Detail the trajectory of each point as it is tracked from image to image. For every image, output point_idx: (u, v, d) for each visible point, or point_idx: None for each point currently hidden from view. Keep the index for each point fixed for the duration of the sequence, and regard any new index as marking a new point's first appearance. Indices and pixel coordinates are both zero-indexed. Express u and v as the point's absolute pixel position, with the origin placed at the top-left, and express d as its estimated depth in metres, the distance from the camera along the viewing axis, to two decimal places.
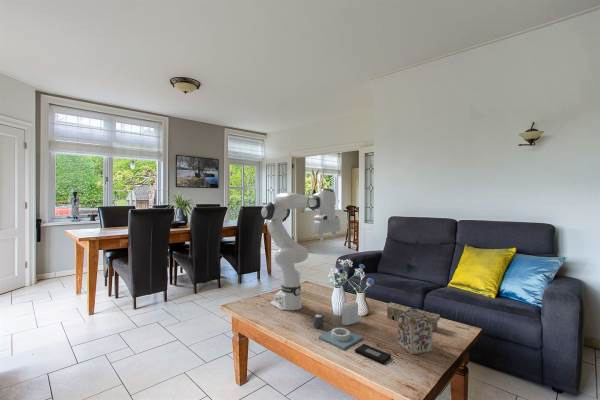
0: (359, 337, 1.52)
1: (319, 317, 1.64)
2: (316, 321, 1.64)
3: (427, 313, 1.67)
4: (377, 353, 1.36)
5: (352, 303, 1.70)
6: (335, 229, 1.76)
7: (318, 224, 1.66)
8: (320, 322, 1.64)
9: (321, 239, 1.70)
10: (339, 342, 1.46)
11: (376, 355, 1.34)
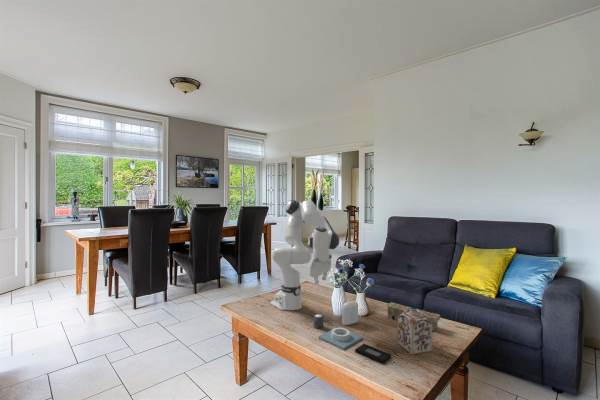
0: (359, 337, 1.52)
1: (319, 317, 1.64)
2: (316, 321, 1.64)
3: (427, 313, 1.67)
4: (377, 353, 1.36)
5: (352, 303, 1.70)
6: None
7: None
8: (320, 322, 1.64)
9: None
10: (339, 342, 1.46)
11: (376, 355, 1.34)
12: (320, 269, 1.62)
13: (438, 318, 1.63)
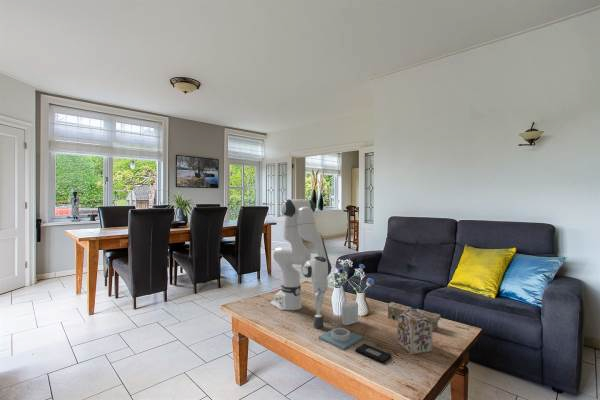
0: (359, 337, 1.52)
1: (319, 317, 1.64)
2: (316, 321, 1.64)
3: (427, 313, 1.68)
4: (377, 353, 1.36)
5: (352, 303, 1.70)
6: None
7: None
8: (320, 322, 1.64)
9: None
10: (339, 342, 1.46)
11: (376, 355, 1.34)
12: None
13: (438, 318, 1.63)
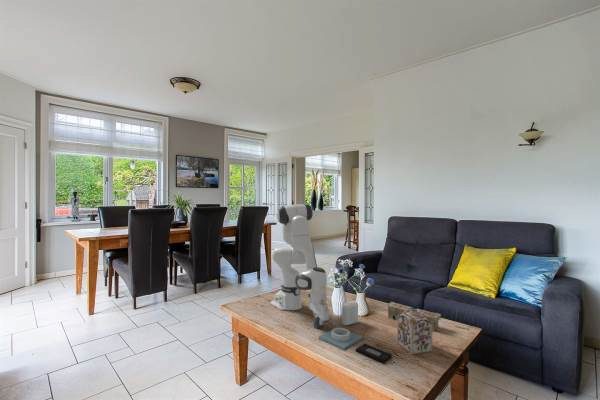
0: (359, 337, 1.52)
1: (319, 317, 1.64)
2: (316, 321, 1.64)
3: (428, 312, 1.68)
4: (378, 353, 1.36)
5: (352, 303, 1.70)
6: (319, 315, 1.60)
7: None
8: None
9: None
10: (339, 342, 1.46)
11: (377, 354, 1.34)
12: None
13: (439, 317, 1.64)
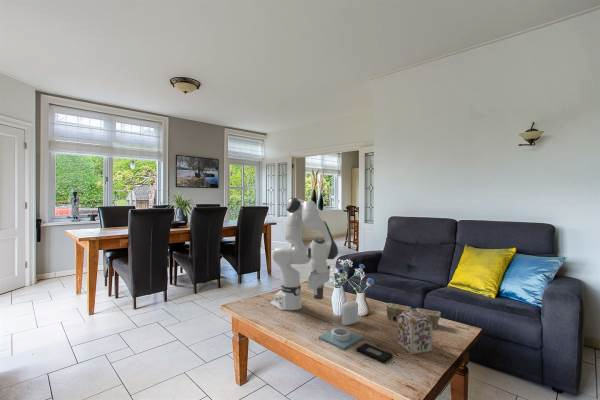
0: (359, 337, 1.52)
1: None
2: None
3: (428, 311, 1.71)
4: (378, 352, 1.36)
5: (352, 303, 1.70)
6: None
7: None
8: None
9: None
10: (339, 342, 1.46)
11: (377, 354, 1.35)
12: (318, 281, 1.61)
13: (440, 315, 1.67)
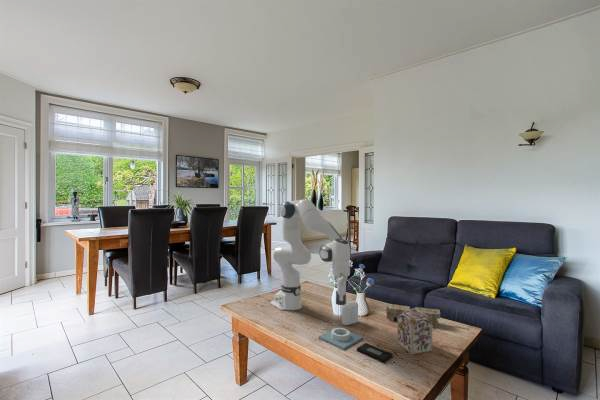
0: (359, 337, 1.52)
1: None
2: (337, 296, 1.51)
3: (428, 310, 1.72)
4: (379, 352, 1.37)
5: (352, 303, 1.70)
6: None
7: None
8: None
9: None
10: (339, 342, 1.46)
11: (378, 354, 1.35)
12: None
13: None
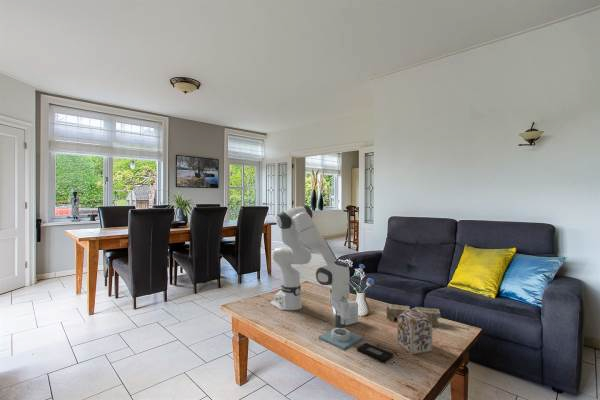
0: (359, 337, 1.52)
1: None
2: (337, 319, 1.50)
3: (428, 309, 1.73)
4: (379, 352, 1.37)
5: (352, 303, 1.70)
6: (339, 313, 1.47)
7: None
8: None
9: None
10: (339, 342, 1.46)
11: (378, 354, 1.35)
12: None
13: None
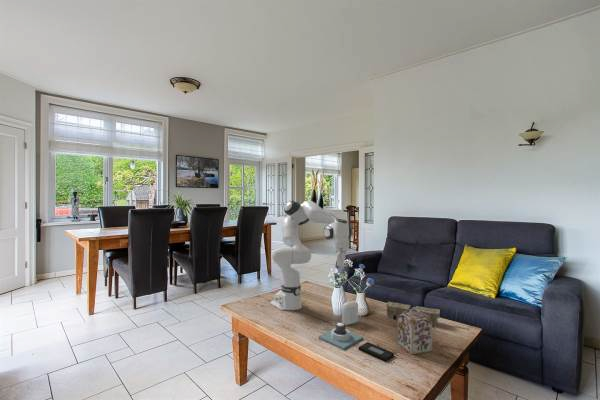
0: (359, 337, 1.52)
1: (341, 326, 1.51)
2: (338, 330, 1.50)
3: (428, 309, 1.73)
4: (380, 351, 1.38)
5: (352, 303, 1.70)
6: None
7: None
8: (342, 331, 1.50)
9: None
10: (339, 342, 1.46)
11: (379, 353, 1.36)
12: None
13: (439, 313, 1.71)
